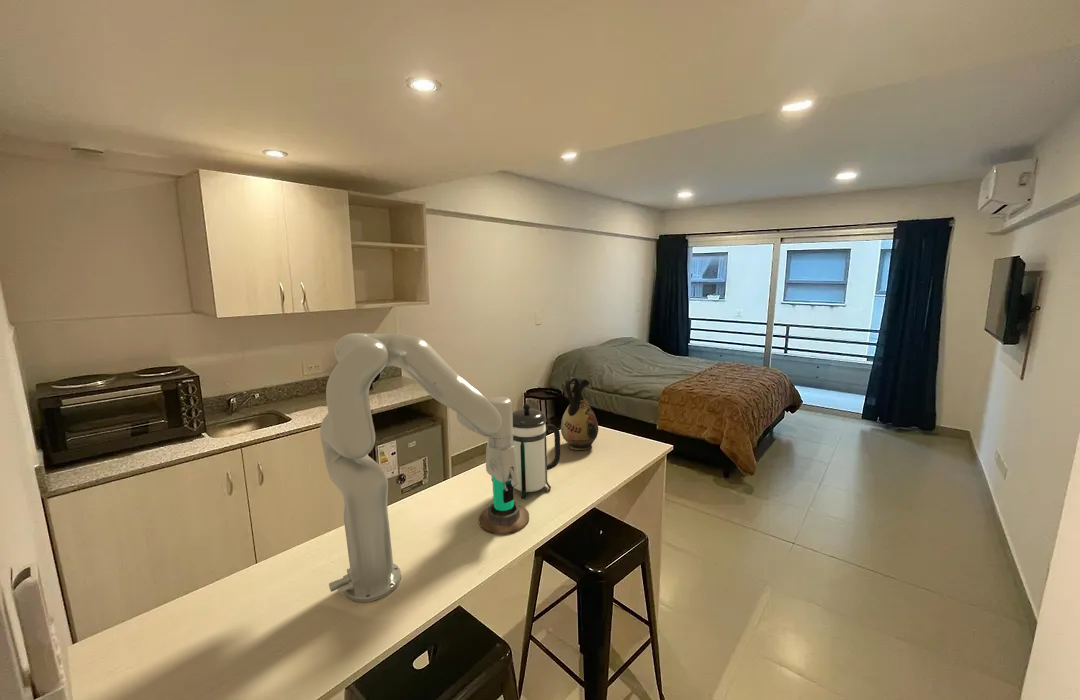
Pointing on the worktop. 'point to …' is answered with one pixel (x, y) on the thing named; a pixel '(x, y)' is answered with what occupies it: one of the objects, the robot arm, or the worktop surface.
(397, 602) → the worktop surface
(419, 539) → the worktop surface
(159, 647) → the worktop surface
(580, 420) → the ceramic jug
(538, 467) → the coffee press
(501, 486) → the candle
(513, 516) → the candle holder
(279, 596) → the worktop surface
